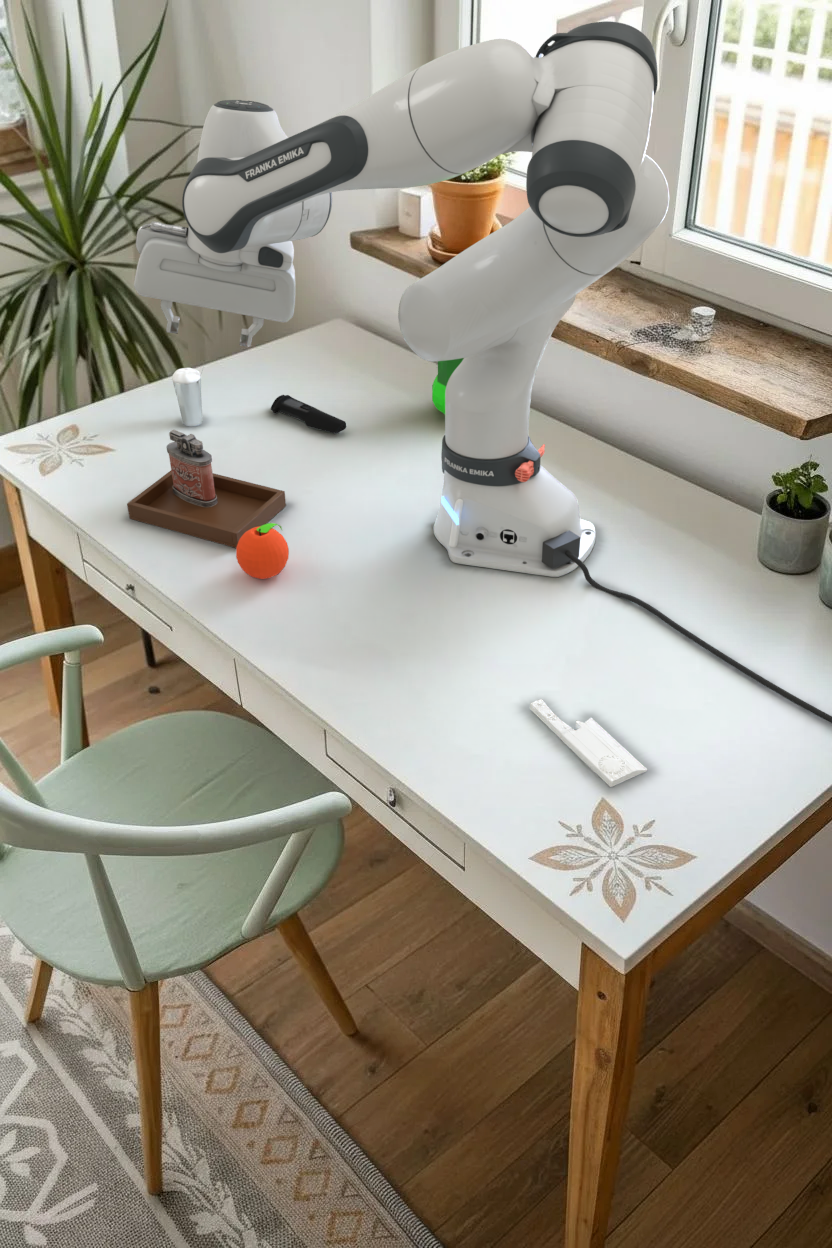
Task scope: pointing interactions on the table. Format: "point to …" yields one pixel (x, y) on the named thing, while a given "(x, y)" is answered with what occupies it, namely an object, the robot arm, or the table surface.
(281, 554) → the clementine
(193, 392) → the milkshake
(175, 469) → the lighter
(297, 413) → the electric trimmer
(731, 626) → the table surface
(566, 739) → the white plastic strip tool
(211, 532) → the tray
